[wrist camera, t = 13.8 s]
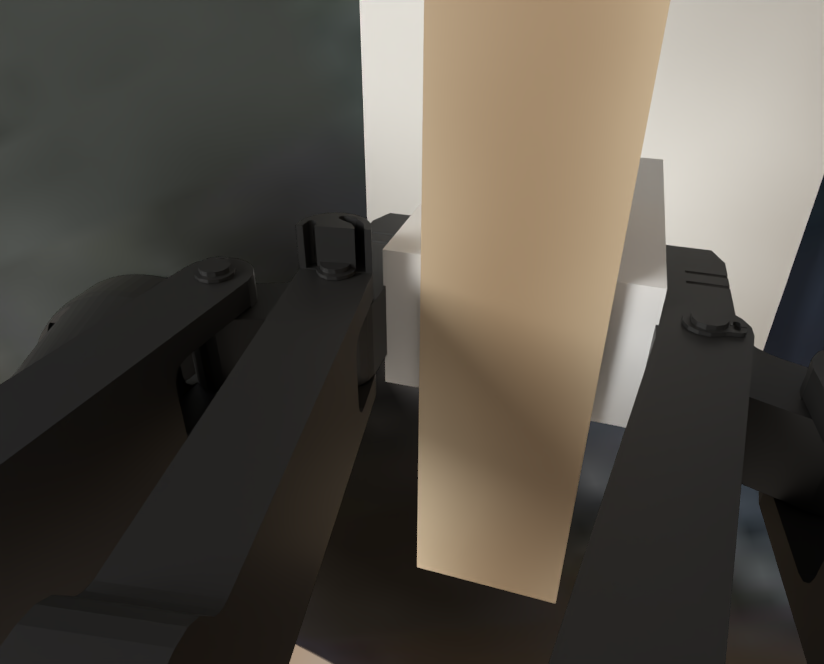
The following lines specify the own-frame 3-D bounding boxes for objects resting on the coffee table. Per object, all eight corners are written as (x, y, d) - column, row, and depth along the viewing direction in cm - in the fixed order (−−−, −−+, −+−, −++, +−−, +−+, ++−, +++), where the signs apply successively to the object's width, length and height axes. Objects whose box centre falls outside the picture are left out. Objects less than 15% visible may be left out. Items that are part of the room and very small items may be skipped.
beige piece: (318, 354, 21) (197, 509, 16) (255, -375, 13) (-73, -621, 7) (790, 441, 18) (854, 682, 12) (1168, -486, 9) (2034, -1174, 3)
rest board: (377, 291, 30) (369, 301, 29) (360, -347, 19) (347, -359, 18) (755, 349, 26) (759, 362, 25) (1012, -413, 15) (1032, -432, 14)
